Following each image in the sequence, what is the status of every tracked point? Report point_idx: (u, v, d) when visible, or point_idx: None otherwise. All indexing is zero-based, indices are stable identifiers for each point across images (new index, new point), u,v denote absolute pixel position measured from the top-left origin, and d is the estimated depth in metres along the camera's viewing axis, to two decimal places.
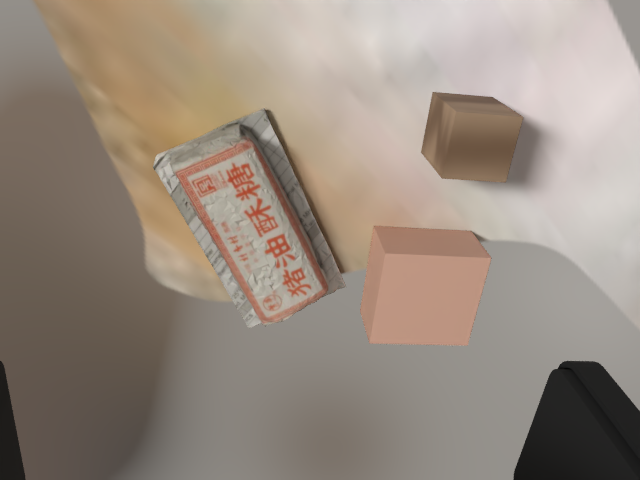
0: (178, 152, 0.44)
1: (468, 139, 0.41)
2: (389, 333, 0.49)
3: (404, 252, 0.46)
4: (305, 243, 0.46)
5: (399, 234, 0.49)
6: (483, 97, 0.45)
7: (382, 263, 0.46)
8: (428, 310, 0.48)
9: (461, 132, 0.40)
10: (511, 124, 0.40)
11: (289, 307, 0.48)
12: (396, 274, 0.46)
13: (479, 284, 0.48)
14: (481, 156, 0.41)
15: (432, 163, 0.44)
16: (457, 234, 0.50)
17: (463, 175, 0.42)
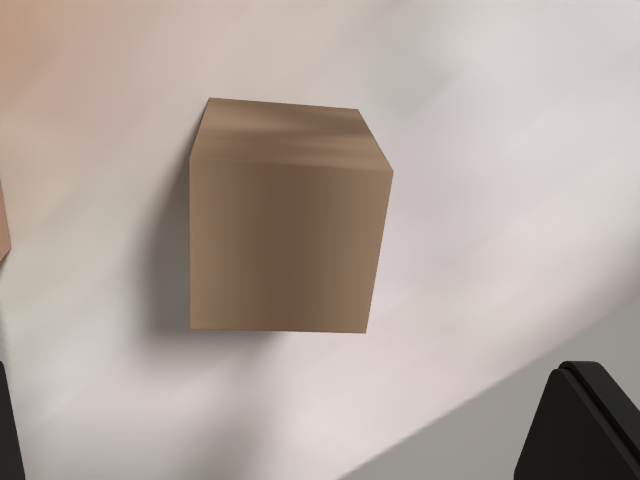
0: None
1: (312, 215, 0.14)
2: None
3: None
4: None
5: None
6: None
7: None
8: None
9: (334, 194, 0.14)
10: (348, 311, 0.16)
11: None
12: None
13: None
14: (263, 256, 0.15)
15: (205, 125, 0.16)
16: None
17: (204, 219, 0.14)
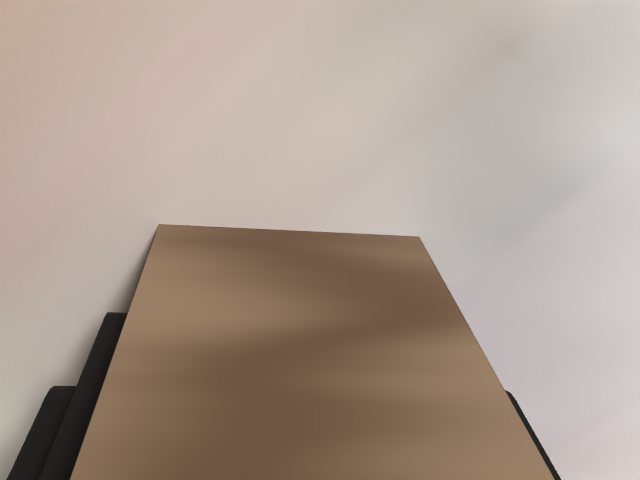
0: None
1: None
2: None
3: None
4: None
5: None
6: None
7: None
8: None
9: None
10: None
11: None
12: None
13: None
14: None
15: (132, 327, 0.08)
16: None
17: None
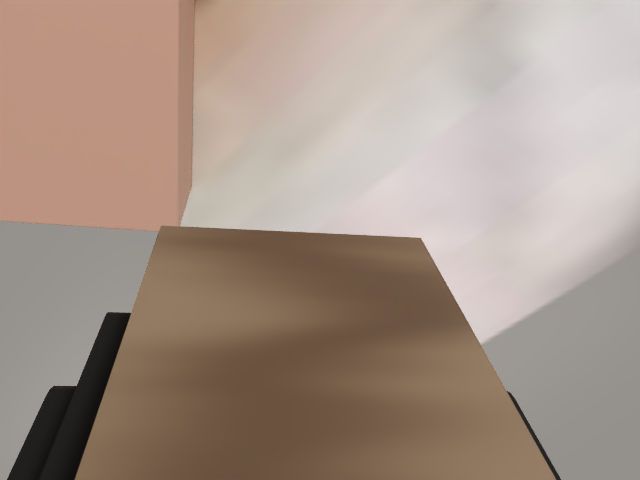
0: None
1: None
2: None
3: (179, 46, 0.20)
4: None
5: (190, 41, 0.23)
6: None
7: None
8: (28, 115, 0.21)
9: None
10: None
11: None
12: (122, 28, 0.19)
13: (112, 218, 0.23)
14: None
15: (135, 329, 0.08)
16: (190, 161, 0.26)
17: None
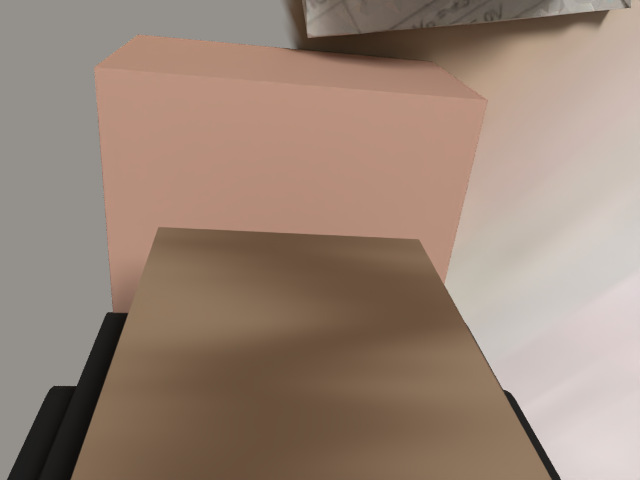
0: None
1: None
2: (149, 142, 0.13)
3: (469, 162, 0.14)
4: None
5: None
6: None
7: (438, 93, 0.14)
8: None
9: None
10: None
11: None
12: (402, 143, 0.14)
13: None
14: None
15: (132, 331, 0.08)
16: None
17: None
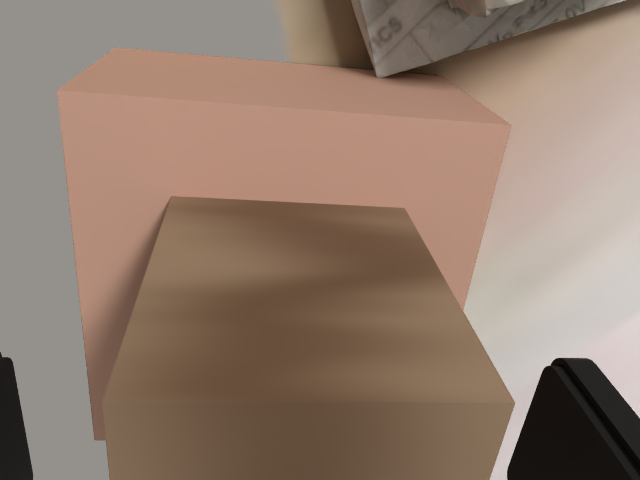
0: None
1: (352, 479, 0.07)
2: (123, 175, 0.11)
3: (488, 193, 0.13)
4: None
5: None
6: None
7: (455, 117, 0.12)
8: None
9: (396, 444, 0.07)
10: None
11: None
12: (413, 174, 0.12)
13: None
14: None
15: (153, 276, 0.09)
16: None
17: None
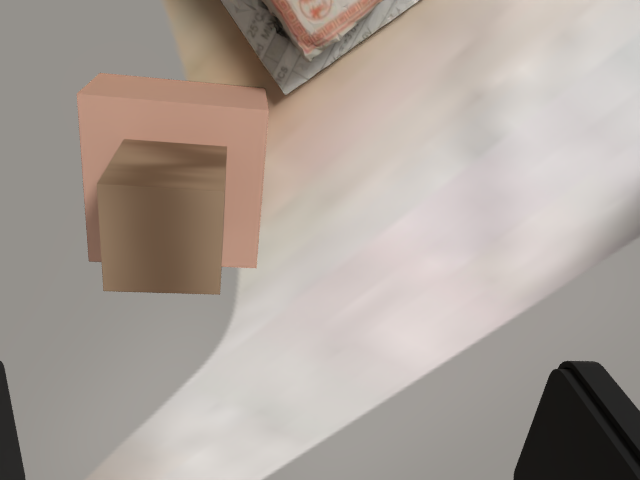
0: None
1: (176, 218, 0.23)
2: (103, 129, 0.27)
3: None
4: None
5: None
6: None
7: (246, 106, 0.28)
8: None
9: (188, 205, 0.23)
10: (206, 280, 0.25)
11: (346, 8, 0.27)
12: (229, 131, 0.28)
13: None
14: (147, 244, 0.24)
15: (113, 161, 0.25)
16: None
17: (108, 220, 0.23)
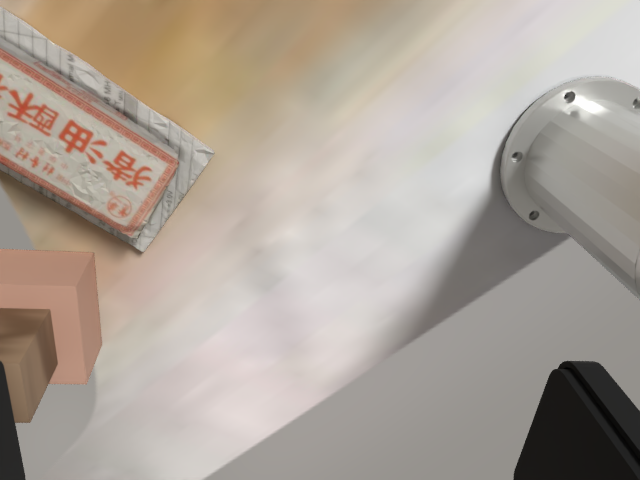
0: None
1: None
2: None
3: (79, 304, 0.41)
4: (111, 119, 0.37)
5: (91, 283, 0.44)
6: (54, 358, 0.42)
7: (60, 283, 0.40)
8: None
9: None
10: (19, 414, 0.37)
11: (142, 203, 0.39)
12: (49, 299, 0.40)
13: (51, 379, 0.44)
14: None
15: None
16: (98, 335, 0.47)
17: None
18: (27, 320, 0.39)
